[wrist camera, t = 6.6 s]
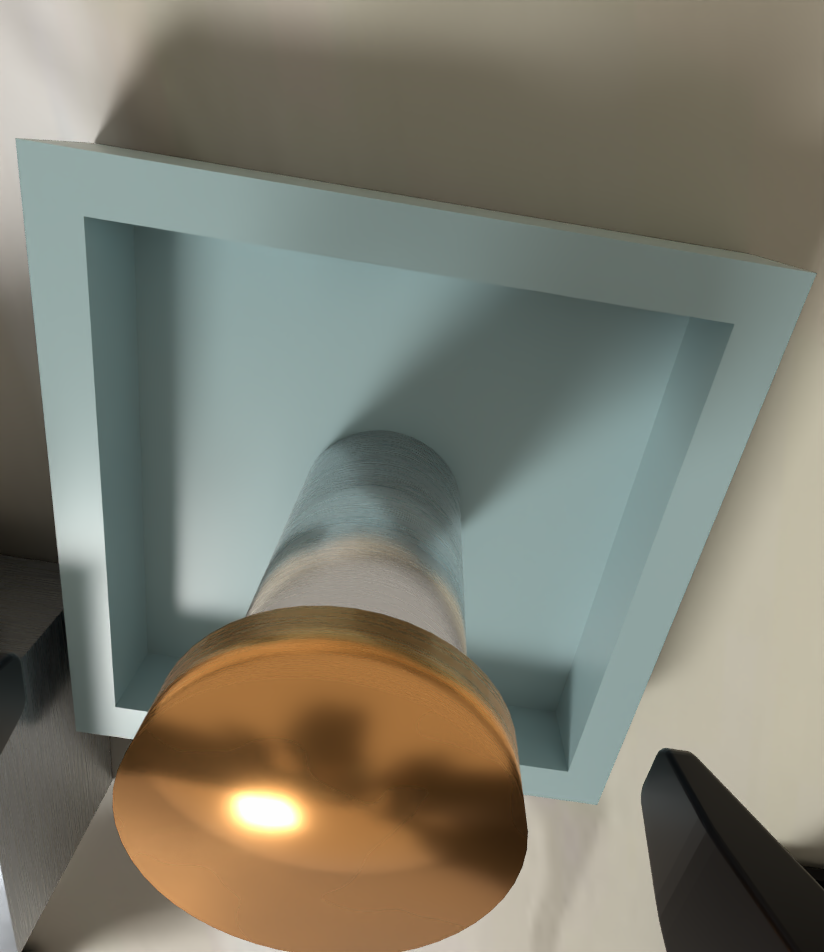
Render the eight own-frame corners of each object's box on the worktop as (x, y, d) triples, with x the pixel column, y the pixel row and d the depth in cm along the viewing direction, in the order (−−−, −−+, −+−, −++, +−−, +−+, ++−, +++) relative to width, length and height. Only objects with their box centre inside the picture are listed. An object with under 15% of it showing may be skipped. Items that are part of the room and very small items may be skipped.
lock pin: (507, 424, 14) (576, 719, 7) (464, 603, 16) (481, 978, 9) (285, 387, 14) (101, 645, 6) (271, 572, 16) (120, 927, 8)
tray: (750, 254, 13) (816, 273, 11) (578, 727, 18) (597, 804, 16) (92, 142, 12) (15, 138, 10) (121, 660, 18) (76, 730, 16)
